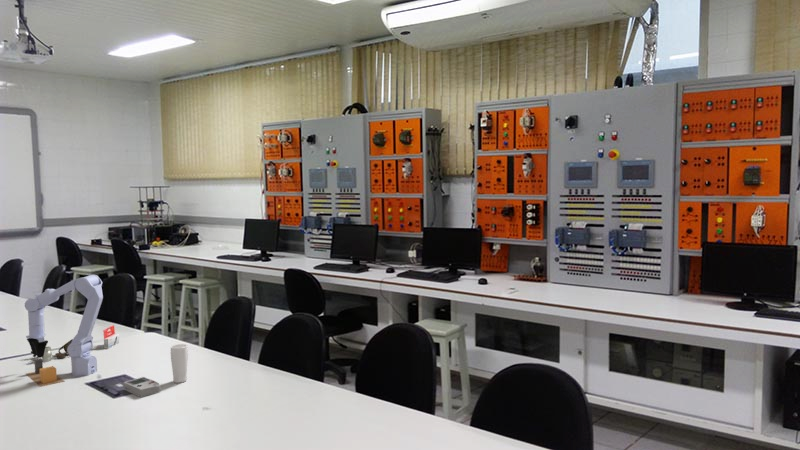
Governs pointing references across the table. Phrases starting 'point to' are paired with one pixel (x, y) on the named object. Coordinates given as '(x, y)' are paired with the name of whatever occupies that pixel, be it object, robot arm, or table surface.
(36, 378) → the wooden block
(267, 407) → the table surface
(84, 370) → the robot arm
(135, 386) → the handheld gaming device
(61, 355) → the brown rounded piece
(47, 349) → the valve
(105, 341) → the ink cartridge box
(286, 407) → the table surface
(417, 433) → the table surface
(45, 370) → the cube
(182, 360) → the drinking glass
